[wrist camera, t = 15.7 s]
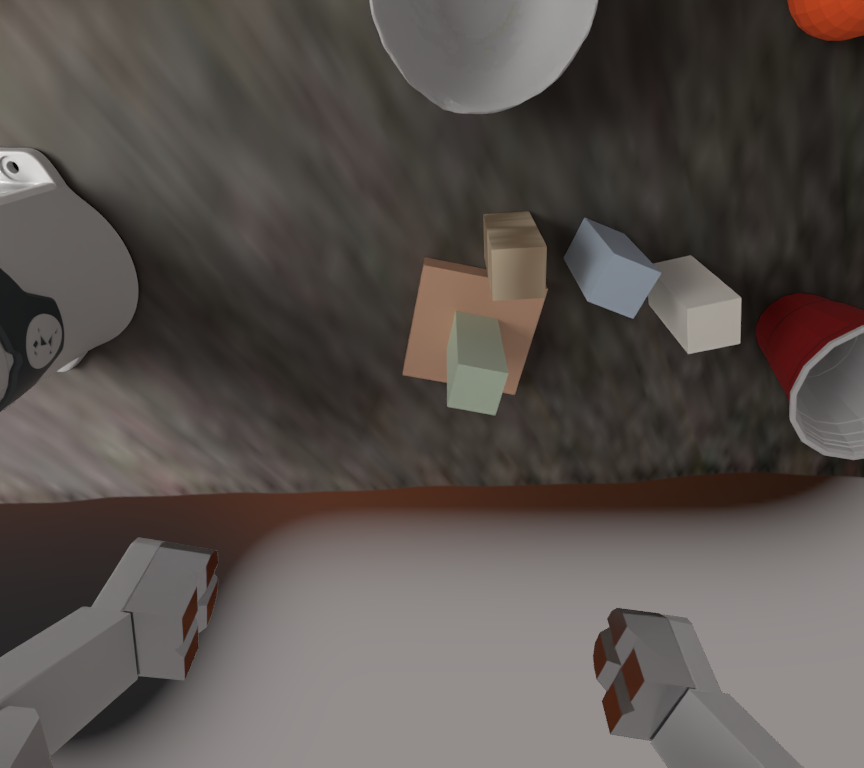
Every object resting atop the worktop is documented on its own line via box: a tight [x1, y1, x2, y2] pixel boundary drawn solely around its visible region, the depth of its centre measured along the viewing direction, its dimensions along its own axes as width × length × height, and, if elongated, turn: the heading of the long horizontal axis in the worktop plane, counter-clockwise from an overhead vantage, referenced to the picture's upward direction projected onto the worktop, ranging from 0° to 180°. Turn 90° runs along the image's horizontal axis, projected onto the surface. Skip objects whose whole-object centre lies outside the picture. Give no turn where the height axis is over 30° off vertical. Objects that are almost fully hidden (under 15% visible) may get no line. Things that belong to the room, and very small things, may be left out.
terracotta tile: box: [402, 257, 548, 395], centre depth 48 cm, size 10×10×2 cm
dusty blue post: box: [563, 217, 661, 319], centre depth 42 cm, size 4×4×9 cm
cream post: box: [648, 255, 741, 354], centre depth 43 cm, size 4×4×9 cm
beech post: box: [483, 211, 547, 301], centre depth 41 cm, size 4×4×9 cm
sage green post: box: [447, 311, 508, 415], centre depth 44 cm, size 4×4×9 cm
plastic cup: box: [756, 293, 864, 460], centre depth 43 cm, size 11×11×12 cm
